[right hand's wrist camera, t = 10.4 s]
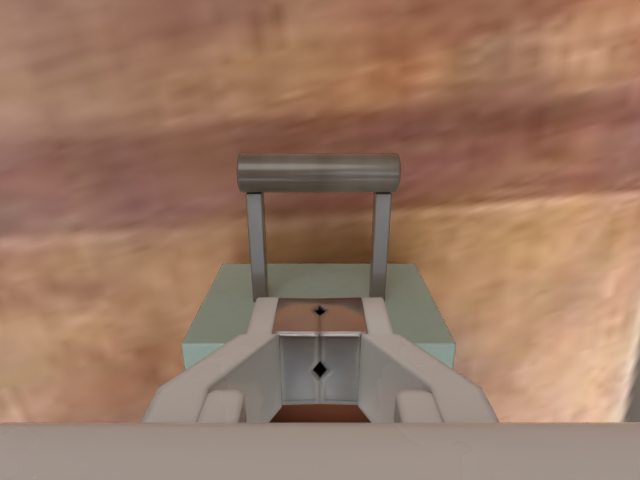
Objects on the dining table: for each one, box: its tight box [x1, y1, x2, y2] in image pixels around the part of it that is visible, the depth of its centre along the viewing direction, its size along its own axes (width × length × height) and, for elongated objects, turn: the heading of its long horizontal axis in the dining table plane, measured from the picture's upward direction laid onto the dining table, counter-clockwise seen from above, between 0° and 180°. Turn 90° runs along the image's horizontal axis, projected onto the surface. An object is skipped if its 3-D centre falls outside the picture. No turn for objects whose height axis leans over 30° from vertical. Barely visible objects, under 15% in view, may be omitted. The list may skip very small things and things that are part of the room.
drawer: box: [182, 153, 456, 423], centre depth 20 cm, size 23×10×7 cm, turn 0°
